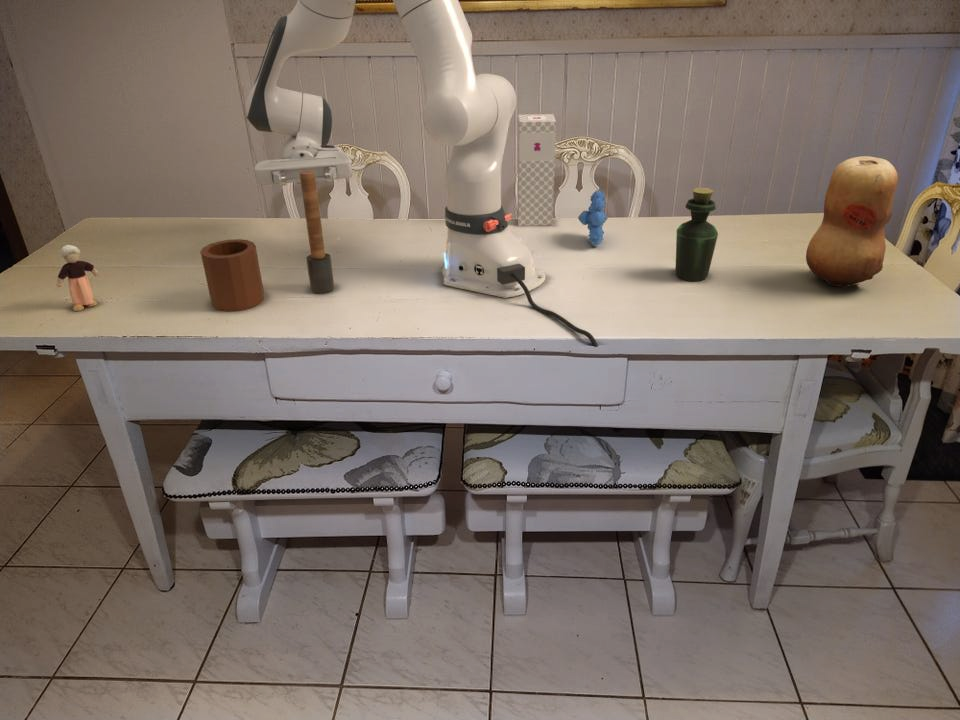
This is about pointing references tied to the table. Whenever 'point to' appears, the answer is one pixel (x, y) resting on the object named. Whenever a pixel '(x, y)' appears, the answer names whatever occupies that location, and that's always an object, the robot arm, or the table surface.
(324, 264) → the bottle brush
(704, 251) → the potion bottle
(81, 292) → the grandmother figurine
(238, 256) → the cylindrical container
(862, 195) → the butternut squash
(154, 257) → the table surface
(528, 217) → the box
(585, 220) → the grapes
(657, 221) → the table surface
